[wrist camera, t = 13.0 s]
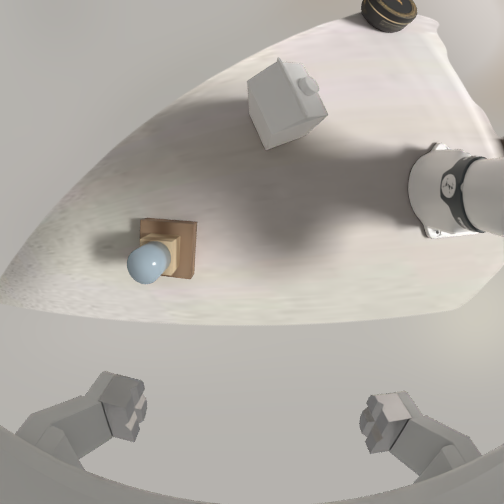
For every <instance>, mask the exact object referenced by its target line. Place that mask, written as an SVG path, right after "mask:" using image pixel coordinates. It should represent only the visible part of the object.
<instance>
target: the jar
mask: <svg viewBox="0 0 504 504" xmlns="http://www.w3.org/2000/svg"><path fill="white" fill-rule="evenodd" d="M361 10H362V13H363V15H364V17H365V18H366V20H367V21H368V22H369V23H370V24H371V25H373V26H374V27H375V28H377V29H379V30H382V31H385V32H390V33H393V32H397V31H400V30H402V29H403V28H404V27H405V26H407V25H408V24H409V23H411V22H412V21H413V19H414V18H415V17H416V15H417V8H416V5H415V3H414V2H413V0H363V1H362V6H361Z"/></svg>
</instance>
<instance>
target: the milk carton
mask: <svg viewBox="0 0 504 504" xmlns="http://www.w3.org/2000/svg"><path fill="white" fill-rule="evenodd" d="M247 85H248V104H249V114H250V117H251V119H252V121H253V123H254V126H255V128H256V130H257V132H258V134H259V137H260V139H261V141H262V144H263V146H264V148H265V150H268V149H271V148H274V147H276V146H279V145H282V144H284V143H287V142H290V141H292V140H295V139H298V138H301V137H304V136H306V135H307V134H308V133H309V132H310V131H311V130H312V129H313V128H314V127H315V126H316V125H318V124H319V123H320V122H321V121H322V120H323V119H324V118H325V117H326V116H327V115H328V113H327V111H326V109H325V106H324V104H323V102H322V100H321V98H320V96H319V94H318V91H319V86H318V84H317V82H316V81H315V80H314V79H313V78H312V77H310V76H309V74H308V72H307V70H306V69H305V67H304V65H303V64H302V63H293V62H282V61H281V59H280V58H278V59H277V62H276V63H274V64H272V65H271V66H269V67H268V68H266V69H265V70H263V71H261V72H260V73H258V74H257V75H255V76H254V77H252V78H251V79H249V80H248V81H247Z"/></svg>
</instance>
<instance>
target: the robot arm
mask: <svg viewBox="0 0 504 504" xmlns="http://www.w3.org/2000/svg"><path fill="white" fill-rule="evenodd" d="M408 193H409V199H410V203H411V206H412V208H413V211H414V212H415V214H416V216H417V217H418V218H419V219H420V221H421V222H422V223H423V225H424V229H425V232H426V235H427V236H428V237H429V238H433V239H434V238H444V237H454V236H464V235H474V234H477V233H484V232H489V233H492V234H495V235H499V236H502V237H504V157H502V158H493V159H487V158H485V157H479V156H471V154H469V153H465V152H464V150H461V149H451V148H449V147H448V146H446V145H444V144H443V143H437V144H436V145H435V146H434V147H433V149H432V150H431V151H430V152H429V153H427V154H425V155H423V156H422V157H420V158H419V159H418V160H417V161H416V163H415V164H414V166H413V168H412V170H411V173H410V177H409V183H408ZM436 231H437V233H436ZM144 389H145V388H144V383H143V381H141V380H138V379H134V378H130V377H126V376H122V375H118V374H114V373H110V372H107V371H104V372H102V373H101V374H100V375H99V377H98V378H97V380H96V381H95V383H94V384H93V385H92V386H91V388H90V389H89V391H88V392H87V393H86V395H85V396H78V397H76V398H73V399H71V400H68V401H65V402H63V403H60V404H58V405H55V406H52V407H50V408H47V409H44V410H41V411H38V412H35V413H32V414H31V415H30V416H29V417H28V418H27V420H26V421H25V422H24V423H23V425H22V426H21V427H20V428H19V430H18V431H17V432H16V433H15V434H13V433H12V432H10V431H8V430H7V429H5V428H4V427H2V426H1V425H0V504H217V503H208V502H201V501H194V500H187V499H182V498H176V497H172V496H167V495H162V494H158V493H153V492H149V491H145V490H142V489H138V488H134V487H131V486H127V485H124V484H121V483H117V482H115V481H112V480H109V479H106V478H103V477H100V476H98V475H95V474H92V473H90V472H87V471H85V469H84V468H83V466H82V464H81V463H80V461H79V459H80V458H82V457H83V456H85V455H86V454H88V453H90V452H91V451H93V450H94V449H96V448H98V447H99V446H101V445H102V444H104V443H105V442H107V441H108V440H109V439H111V438H112V436H113V437H117V438H120V439H124V440H128V441H132V442H135V440H136V437H137V435H138V432H139V430H140V428H139V423H141V422H142V421H143V420H144V418H145V415H146V409H147V401H146V397H145V396H144V395H143V391H144ZM367 405H368V407H367V408H366V409H365V410H364V411H363V412H362V414H361V416H360V423H359V424H360V429H361V432H362V434H364V435H365V436H366V437H367V439H366V441H365V442H366V445H367V447H368V450H369V452H370V454H372V453H378V452H385V451H389V452H390V453H392V454H393V455H394V456H395V457H396V458H398V459H399V460H400V461H401V462H403V463H404V464H405V465H406V466H407V467H409V468H410V469H411V470H413V471H414V472H415V473H417V474H418V475H419V477H418V478H417V480H416V481H415V482H414V483H413V484H412V485H408V486H405V487H401V488H398V489H394V490H391V491H387V492H383V493H378V494H375V495H370V496H365V497H360V498H354V499H348V500H342V501H335V502H328V503H319V504H504V444H502V445H501V446H499V447H497V448H495V449H494V450H492V451H490V452H488V453H486V454H484V455H481V453H480V452H479V450H478V449H477V447H476V446H475V445H474V443H473V442H472V440H471V439H470V437H468V436H466V435H464V434H462V433H460V432H458V431H456V430H454V429H452V428H450V427H448V426H446V425H444V424H442V423H440V422H438V421H436V420H434V419H432V418H430V417H428V416H423V415H422V413H421V412H420V410H419V409H418V407H417V406H416V404H415V403H414V401H413V400H412V398H411V397H410V395H409V394H408V392H406V391H401V392H394V393H386V394H377V395H371V396H370V397H369V398H368V401H367Z"/></svg>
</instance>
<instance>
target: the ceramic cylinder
mask: <svg viewBox="0 0 504 504" xmlns="http://www.w3.org/2000/svg"><path fill="white" fill-rule="evenodd" d="M170 263H171V254H170V251H169V249H168V248H167V246H166V245H164V244H163V243H161V242H159V241H150V242H148V243H146V244H144V245H143V246H141V247H139V248H138V249H136V250H134V251H133V252H132V253H131V254H130V255H129V257H128V260H127V268H128V271H129V274H130V275H131V277H132V278H133V279H134V280H135V281H137V282H139V283H141V284H150V283H153V282H154V281H156V279H157V278H158V277H159V276H160V275H161V274H162V273H163V272H164V271H165V270H166V269H167V268H168V267H169V265H170Z"/></svg>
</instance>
